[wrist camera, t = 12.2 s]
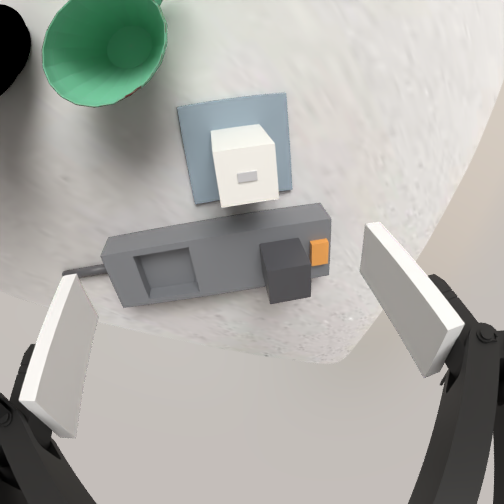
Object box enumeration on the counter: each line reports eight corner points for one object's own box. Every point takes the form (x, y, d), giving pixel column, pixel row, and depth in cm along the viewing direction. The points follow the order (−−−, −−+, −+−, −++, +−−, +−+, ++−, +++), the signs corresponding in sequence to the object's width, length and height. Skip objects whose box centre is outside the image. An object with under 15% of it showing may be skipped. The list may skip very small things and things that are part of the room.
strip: (75, 295, 41) (57, 342, 34) (52, 249, 36) (27, 293, 29) (319, 256, 43) (342, 302, 35) (320, 202, 38) (347, 242, 31)
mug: (153, 105, 29) (133, 124, 21) (71, 78, 26) (25, 90, 18) (218, -18, 23) (224, -48, 15) (131, -45, 19) (105, -78, 11)
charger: (217, 175, 34) (221, 208, 27) (210, 130, 31) (212, 152, 25) (263, 168, 34) (279, 199, 28) (259, 123, 31) (275, 144, 25)
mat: (195, 201, 36) (195, 204, 36) (177, 106, 30) (177, 107, 29) (291, 187, 37) (292, 189, 36) (284, 92, 30) (286, 93, 30)
